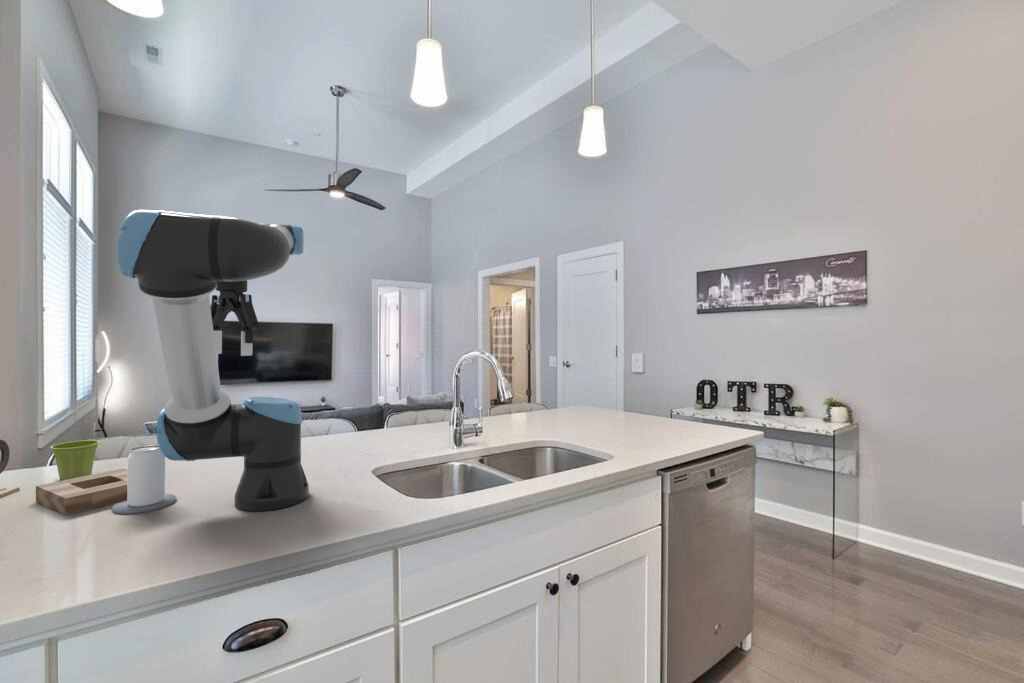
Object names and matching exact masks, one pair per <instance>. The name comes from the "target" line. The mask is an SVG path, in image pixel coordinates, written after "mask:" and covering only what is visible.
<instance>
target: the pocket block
mask: <svg viewBox="0 0 1024 683" xmlns="http://www.w3.org/2000/svg"><path fill="white" fill-rule="evenodd" d="M127 471H128V469H127V468H119V469H115V470H114V469H113V470H109V471H105V472H100V473H94V474H91V475H88V476H83V477H78V478H73V479H68V480H58V481H55V482H49V483H44V484H39V485H35V502H36V503H38V504H40V505H42V506H45V507H47V508H48V509H49V508H50V509H52V510H54V511H56V512H57V513H60V514H62V515H65V516H67V515H72V514H77V513H80V512H85V511H88V510H92V509H97V508H100V507H103V506H104V507H105V506H109V505H112V504H113V505H114V504H117V503H119V502H121V501H124V500H127Z"/></svg>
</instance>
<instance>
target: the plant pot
mask: <svg viewBox="0 0 1024 683" xmlns="http://www.w3.org/2000/svg"><path fill="white" fill-rule="evenodd" d="M99 444H101V443H100V440H95V439H89V440H87V439H85V440H75V441H67V442H61V443H57V444H53V445H51V446H50V450H52V452H53V453H52V454H53V455H54V458H55V463H56V467H57V472H58V477H59V480H60V481H63V480H68V479H73V478H78V477H83V476H88V475H92V473H93V468H94V467H93V466H94V461H95V455H96V450H97V449H98V445H99Z"/></svg>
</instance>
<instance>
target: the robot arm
mask: <svg viewBox="0 0 1024 683" xmlns="http://www.w3.org/2000/svg"><path fill="white" fill-rule="evenodd" d="M304 238H305V237H304V230H303V228H302V227H300V226H297V225H292V224H278V223H266V222H257V221H256V222H255V221H252V220H251V221H250V220H246V219H241V218H238V217H237V218H236V217H232V216H224V215H209V214H208V215H207V214H195V213H186V212H178V211H168V210H167V211H166V210H165V209H159V210H151V209H137V210H133V211H131V212H130V213H129V214H127V216H126V217H125V218H124V220H123V222H122V224H121V226H120V229H119V233H118V239H117V245H116V247H117V248H116V256H117V257H116V258H117V264H118V268H119V271H120V272H121V273H122V275H123V276H125V277H127V278H130V279H137V282H138V287H139V291H140V292H141V293H142V294H144V295H145V296H147V297H149V298H151V299H152V303H153V308H154V313H155V320H156V322H157V323H156V324H157V329H158V334H159V339H160V344H161V351H162V354H163V360H164V365H165V372H166V375H167V381H168V386H169V392H170V397H171V398H170V399H169V400H168V401H167V403H166V404H165V406H164V408H163V409H161V411H160V412H159V414H158V417H157V420H156V428H155V429H156V432H157V434H156V441H157V445H159V448H160V450H161V452H162V453H163V455H164V456H165V459H168V460H169V461H175V462H179V461H180V462H185V461H186V462H191V461H192V462H194V461H198V460H210V459H211V460H212V459H223V458H227V459H228V458H236V457H237V458H239V457H241V458H242V457H243V471H242V474H241V476H240V479H239V483H238V485H237V487H236V491H235V494H234V507H235V508H237V509H239V510H242V511H247V512H263V511H273V510H278V509H284V508H287V507H291V506H294V505H298V504H300V503H302V502H303V501H305V500H306V499H308V497H310V496H309V495H310V494H309V492H310V487H309V483H308V480H307V477H306V476H307V475H306V474H305V470H304V469H303V465H302V423H303V419H302V409H301V406H300V404H299V403H298V402H297V401H295V400H292V399H288V398H281V397H275V396H274V397H272V396H250V397H246V398H245V399H244V401H243V403H241V404H240V403H239V404H238V403H237V404H235V403H233V404H232V402H231V400H232V399H231V398H230V395H229V394H228V393H226V391H223V390H222V387H221V379H220V371H219V365H218V356H217V355H221V354H223V330H222V326H223V324H224V322H225V320H226V318H227V317H228V315H229V314H230V313H232V312H233V313H234V315H235V316H236V318H237V320H238V322H239V324H240V326H241V329H240V331H241V332H240V356H241V357H245V356H247V357H248V356H253V342H254V332H255V330H257V329H259V328H260V324H259V321H258V318H257V315H256V312H255V308H254V305H253V299H252V294H250V293H249V294H248V293H247V294H246V292H248V281H250V280H256V279H259V278H263V277H266V276H270V275H272V274H273V273H274V274H275V273H276V272H278V271H279V270H280V269H282V268H284V266H285V265H286V263H287V262H288V261H289V258H290V256H293V255H295V256H296V255H297V256H298V255H302V254H303V253H304V244H305V242H304ZM214 291H216V292H219V294H213V295H212V296H211V300H210V295H211V293H213V292H214ZM210 302H211V303H210Z"/></svg>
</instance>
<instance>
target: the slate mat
mask: <svg viewBox="0 0 1024 683" xmlns="http://www.w3.org/2000/svg"><path fill="white" fill-rule="evenodd" d="M176 501H177V496H176V495H175V494H171V493H165V498H164V499H163V501H161V502H159V503H157V504H154V505H150V506H144V507H131V506H129V505H128V504H127V500H124V501H121V502H117V503H114V504H113V505H112V507H111V508H112V509H111V511H112V513H114V514H117V515H135V514H143V513H147V512H148V513H149V512H153V511H156V510H161V509H163V508H167V507H169V506H170V505H171V506H172V505H173V504H174V503H176Z"/></svg>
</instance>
